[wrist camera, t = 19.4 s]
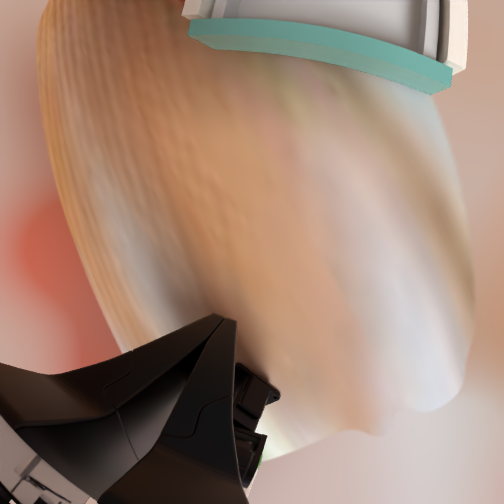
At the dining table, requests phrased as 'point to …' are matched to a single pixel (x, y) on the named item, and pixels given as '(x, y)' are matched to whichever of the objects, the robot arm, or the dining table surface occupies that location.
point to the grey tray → (336, 35)
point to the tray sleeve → (449, 30)
